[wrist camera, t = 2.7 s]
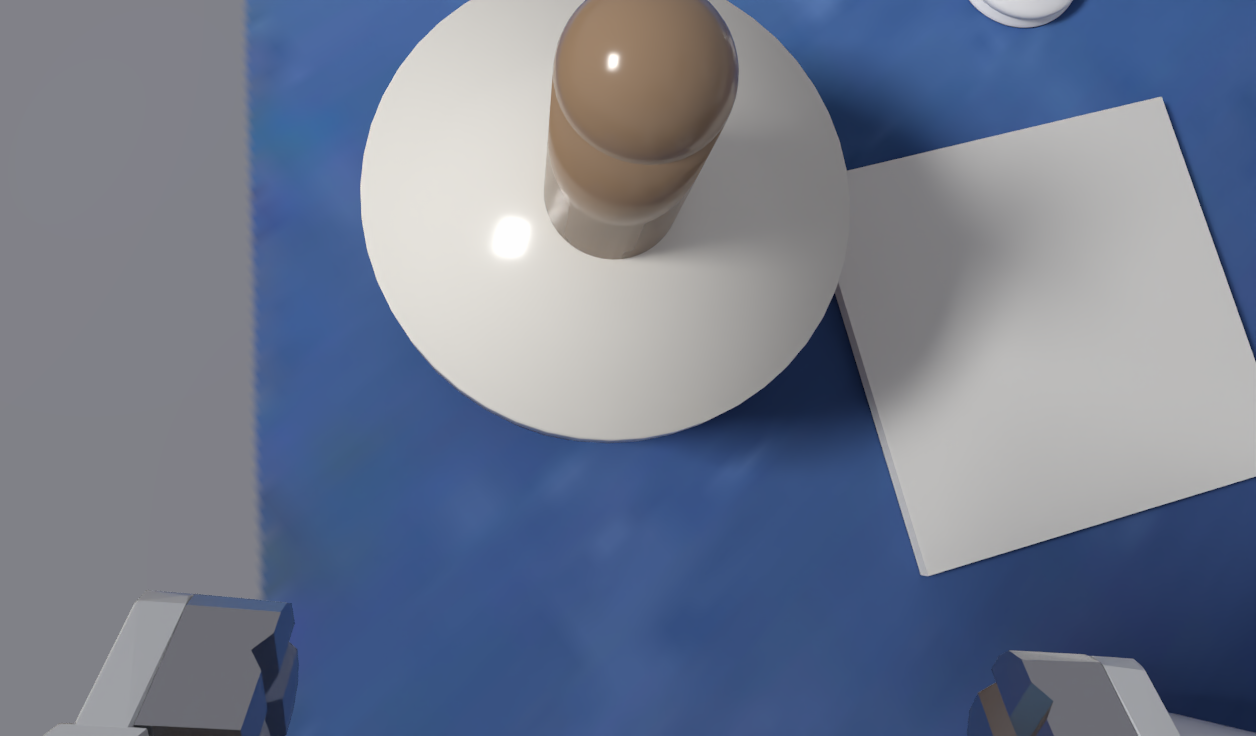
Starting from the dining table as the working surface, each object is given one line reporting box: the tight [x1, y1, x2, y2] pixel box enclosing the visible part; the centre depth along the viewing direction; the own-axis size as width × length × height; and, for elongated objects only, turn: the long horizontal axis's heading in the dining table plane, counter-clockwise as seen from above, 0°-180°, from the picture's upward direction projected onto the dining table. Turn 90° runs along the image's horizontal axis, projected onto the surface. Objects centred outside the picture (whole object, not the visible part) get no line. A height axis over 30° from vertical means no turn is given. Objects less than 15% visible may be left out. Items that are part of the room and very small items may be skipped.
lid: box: [360, 0, 850, 443], centre depth 22 cm, size 13×13×10 cm
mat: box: [835, 97, 1256, 576], centre depth 34 cm, size 14×14×1 cm
